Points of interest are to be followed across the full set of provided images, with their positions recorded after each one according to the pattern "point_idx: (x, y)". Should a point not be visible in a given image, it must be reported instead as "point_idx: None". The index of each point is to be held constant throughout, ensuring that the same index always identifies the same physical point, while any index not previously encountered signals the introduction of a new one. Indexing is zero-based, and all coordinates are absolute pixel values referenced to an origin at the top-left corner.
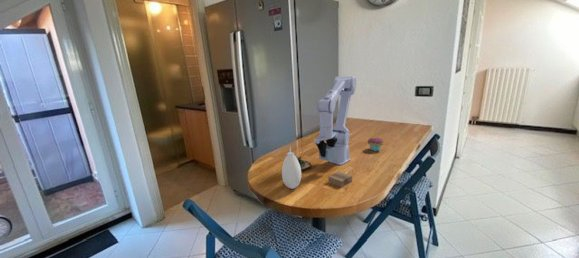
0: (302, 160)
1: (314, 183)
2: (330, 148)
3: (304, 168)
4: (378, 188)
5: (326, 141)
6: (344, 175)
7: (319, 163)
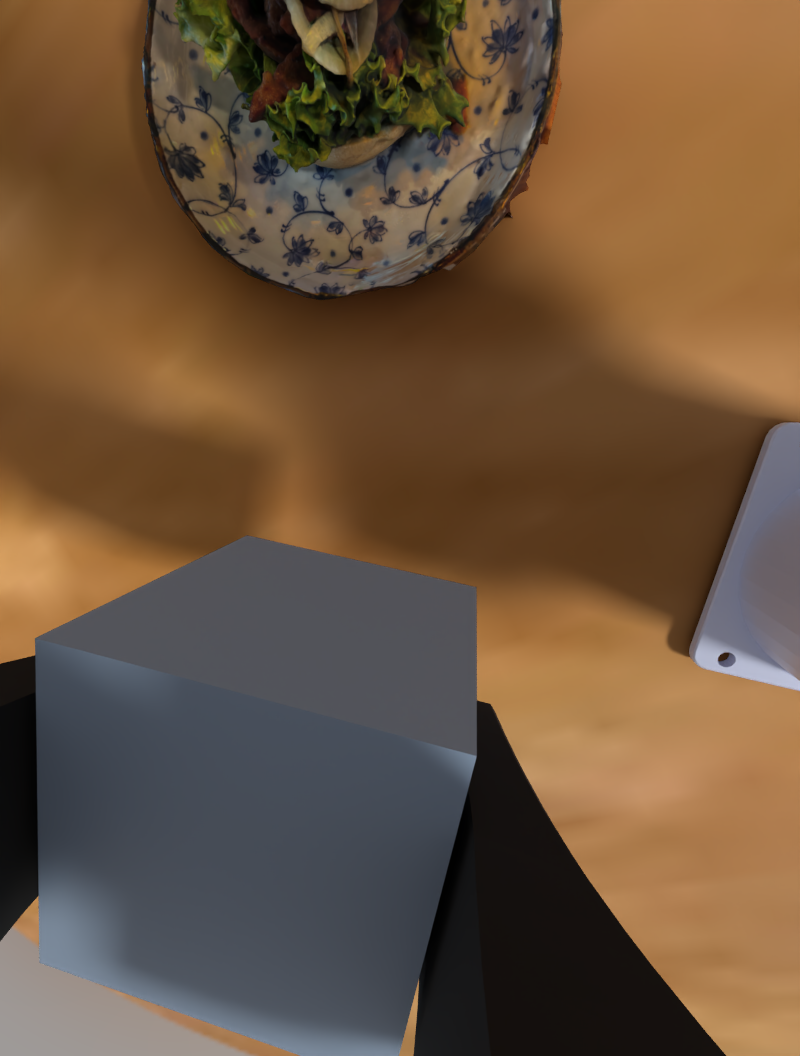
0: (441, 31)
1: (79, 575)
2: (231, 999)
3: (260, 270)
4: None
5: (479, 1051)
6: None
7: (640, 329)
